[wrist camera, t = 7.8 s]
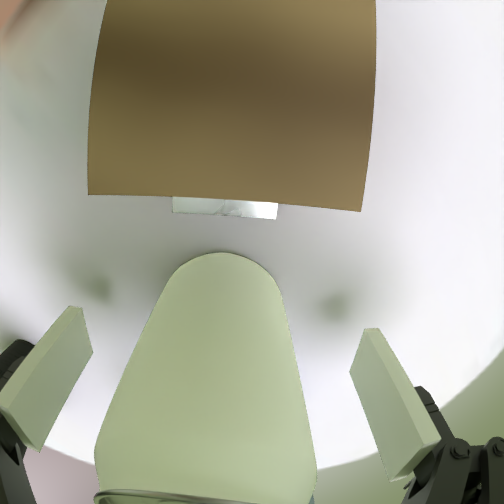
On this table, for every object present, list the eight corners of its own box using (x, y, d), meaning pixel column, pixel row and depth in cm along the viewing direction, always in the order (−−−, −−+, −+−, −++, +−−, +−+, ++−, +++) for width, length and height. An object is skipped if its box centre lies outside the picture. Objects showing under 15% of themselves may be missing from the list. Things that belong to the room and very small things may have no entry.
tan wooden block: (165, 18, 10) (120, -42, 5) (326, 27, 11) (373, -30, 5) (150, 171, 13) (88, 194, 8) (313, 181, 14) (360, 211, 8)
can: (272, 238, 15) (331, 480, 3) (288, 341, 17) (325, 540, 6) (149, 261, 15) (27, 460, 4) (184, 355, 17) (145, 541, 6)
